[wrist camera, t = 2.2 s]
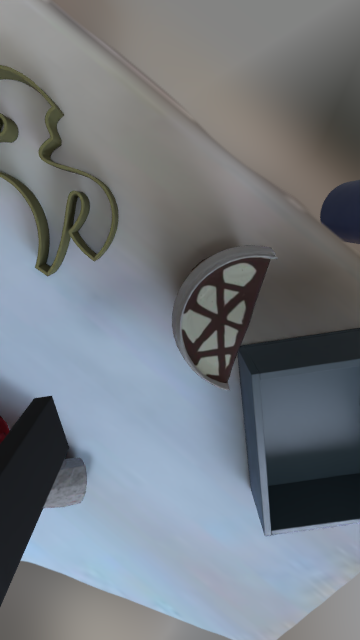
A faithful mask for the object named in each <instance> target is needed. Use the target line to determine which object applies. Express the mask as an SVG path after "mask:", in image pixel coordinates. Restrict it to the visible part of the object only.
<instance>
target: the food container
mask: <svg viewBox="0 0 360 640" xmlns="http://www.w3.org/2000/svg"><path fill="white" fill-rule="evenodd" d="M275 254H276V253H275V252H274V250H273V249H272V248H271V247H265V246H255V245H246V246H239V247H233V248H230V249H227V250H223V251H221V252H219V253H217V254H215V255H213V256H211V257H209V258H207V259H204V260H202V261H201V262H200V263H199V264H198V265H197V266H196V267H195V268H193V269H192V271H191V272H190V274H189V276H188V277H187V278H186V280H185V281H184V283H183V284H182V286H181V288H180V290H179V292H178V294H177V297H176V300H175V303H174V307H173V313H172V328H173V334H174V338H175V341H176V344H177V347H178V349H179V351H180V352H181V354H182V356H183V358H184V359H185V361H186V362H187V363H188V365H189V366H190V367H191V369H192V370H193V371H194V372H195V373H196V374H197V375H199V376H200V377H201V378H203V379H204V380H206V381H207V382H209V383H210V384H212V385H214V386H217V387H219V388H221V389H224V390H228V391H230V389H229V385H228V379H229V377H230V373H231V370H232V366H233V364H234V361H235V358H236V356H237V353H238V350H239V348H240V345H241V343H242V340H243V338H244V336H245V333H246V331H247V328H248V326H249V322H250V319H251V316H252V312H253V309H254V306H255V303H256V300H257V297H258V294H259V291H260V288H261V285H262V282H263V279H264V277H265V274H266V271H267V268H268V265H269V262H270V259H277V257H275ZM269 258H270V259H269Z"/></svg>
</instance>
